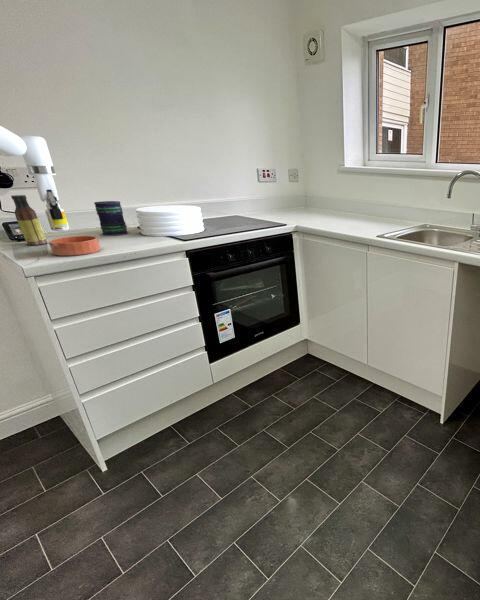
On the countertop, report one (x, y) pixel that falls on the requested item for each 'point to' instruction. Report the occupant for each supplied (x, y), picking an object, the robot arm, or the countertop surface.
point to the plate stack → (170, 220)
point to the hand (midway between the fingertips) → (56, 217)
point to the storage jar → (111, 218)
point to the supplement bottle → (57, 221)
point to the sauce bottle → (28, 221)
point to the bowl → (74, 245)
